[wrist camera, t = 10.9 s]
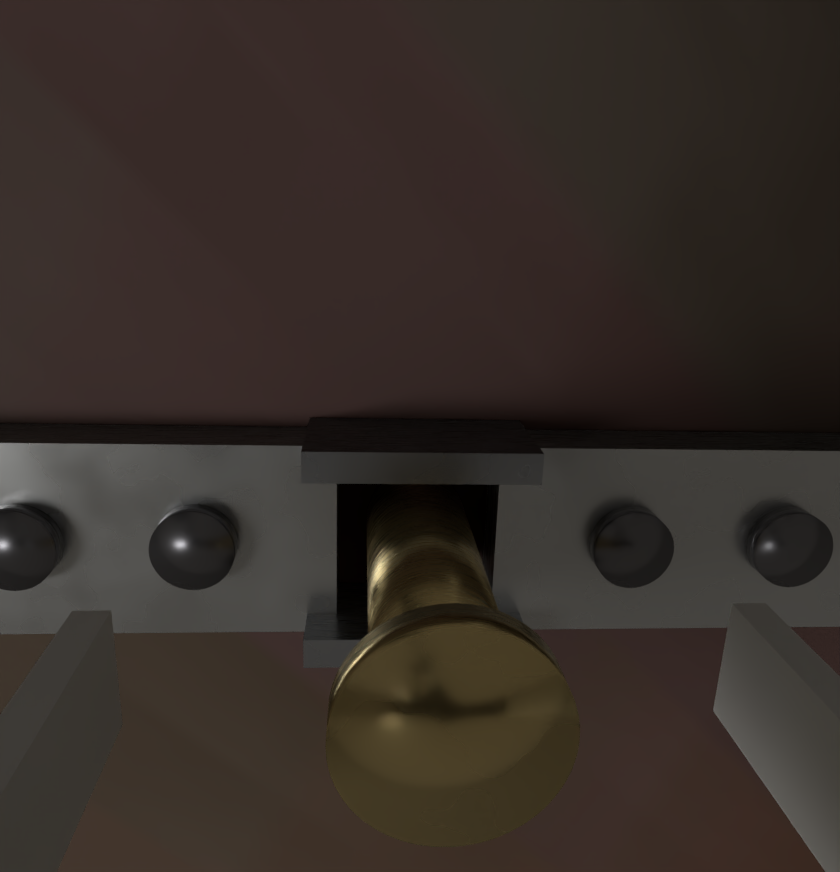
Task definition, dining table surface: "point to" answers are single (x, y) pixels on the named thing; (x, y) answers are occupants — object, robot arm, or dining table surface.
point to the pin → (444, 688)
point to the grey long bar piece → (411, 464)
